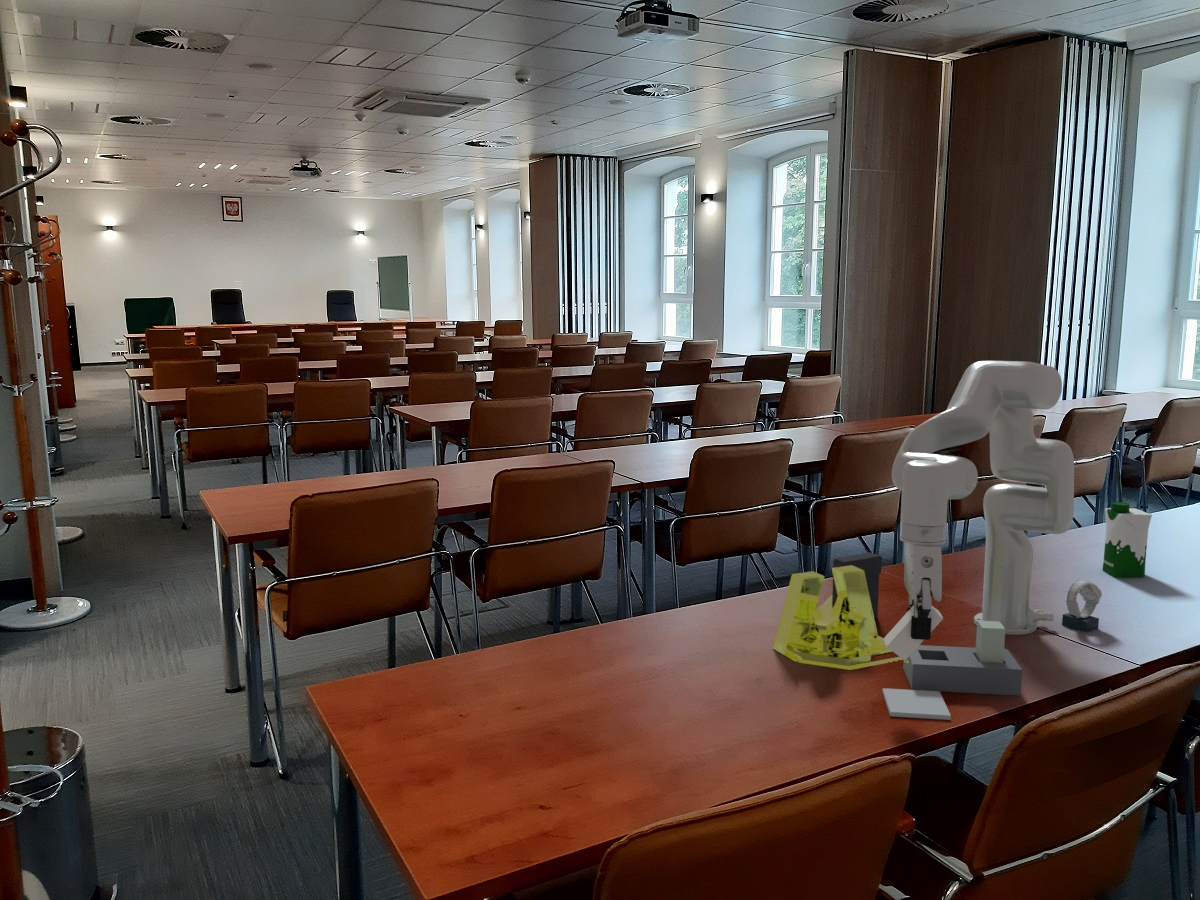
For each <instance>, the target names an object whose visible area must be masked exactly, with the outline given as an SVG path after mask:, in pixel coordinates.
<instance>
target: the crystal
mask: <svg viewBox="0 0 1200 900" xmlns="http://www.w3.org/2000/svg"><path fill="white" fill-rule="evenodd" d="M831 572H832V578H833V577H834V581H835V586H836V590H837V595H836V594H833V593H832V594H830V595H829V597H827V599H826V600H825V601H823V603H822V604H821V605H819V606H818V604H819V601H820V596H821V593H822V590H823V586H824V582H825V576H824V575H823V574H820V573H818V572H815V571H813V570H812V571H805V572H798V573H792V574H791V576H790V580H789V585H788V587H787V591H786V592H787V593H786V596H785V601H784V603H783V608H782V612H781V616H780V620H779V624H778V628H777V631H776V635H775V639H774V643H773V647H772V648H773V650H775V651H776V652H778V653H780V654H782V655H783V656H785V657H787V658H789V660H792V661H793V662H795V663H799V664H807V665H811V666H812V665H814V666H819V667H820V666H821V667H828V668H834V669H840V670H841V669H842V670H846V671H847V670H849V671H851V670H857V669H861V668H862V669H864V668H867V667H871V666H872V667H873V666H878V665H884V664H889V663H893V661H895V662H899V661H898V660H900V661H904V660H903V659H902V658H901V657H899V656H897V657H896V656H895V657H890V658H885V659H880V660H875V661H872V657H874V656H881V655H884V654H885V653H886V654H890V653H894V652H893V651H892V650H890V649H889V648H888V647H887V646H886V644H885V641H884V638H885V637H882V636H880V635H879V633H878V629H877V625H876V621H875V619H876V618H875V619H874V614H873V610H872V605H871V600H870V596H869V591H868V586H867V582H866V577H865V572H864V570H862V569H860V568H857V567H855V566H853V565H850V566H842V567H834V568H833V567H831ZM889 652H890V653H889ZM888 662H889V663H888Z"/></svg>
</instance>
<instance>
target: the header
mask: <svg viewBox="0 0 1200 900" xmlns="http://www.w3.org/2000/svg"><path fill="white" fill-rule="evenodd" d="M975 653H976V647H968V646H966V647H965V646H946V645H926V644H924V645H922V644H920V645H919V646H918V647H917V648H916V649H915V650H914V652H913V653H912V654H911V655H910V656H909V657H908V658H907V659H906V660H903V667H902V669H903V671H904V674H905V677H906V680H907V681H908V684H909V686H910V690H922V691H940V692H943V693H944V692H945V693H947V692H948V693H950V692H951V693H965V694H968V693H969V694H982V695H999V696H1001V695H1003V696H1016V697H1017V696H1019V697H1021V696H1022V682H1023V681H1022V679H1023V668H1022V667H1021V666H1020V664H1019V663H1018V662H1017V660H1016V658H1014V656H1013V654H1012V653H1011V652H1010V651H1009V649H1005V648H1004V660H1003V663H986V662H978V660H977V659H976V657H975Z"/></svg>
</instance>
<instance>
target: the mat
mask: <svg viewBox="0 0 1200 900" xmlns="http://www.w3.org/2000/svg"><path fill="white" fill-rule="evenodd" d="M882 696H883V698H884V701H885V704H886V708H887V710H888V714H889V716H890V717H894V718H895V717H897V718H914V719H928V720H929V719H931V720H944V721H945V720H946V721H947V720H948V721H951V720H952V715H951V713H950V711H949V709H948V707H947V704H946V702H945V700H944V697H943V696H942V693H941V691H926V690H912V689H903V688H902V689H901V688H900V689H899V688H882Z"/></svg>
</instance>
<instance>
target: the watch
mask: <svg viewBox="0 0 1200 900" xmlns="http://www.w3.org/2000/svg"><path fill="white" fill-rule="evenodd" d="M1078 595H1080V596H1081V597H1082V599H1083V602H1085V603H1084V605H1083V608H1082V609H1081V610H1080V608H1079V602H1077V598H1078ZM1102 597H1103V593H1102V590H1101V589H1100V587H1099V586H1098V585H1097V584H1095V583H1093V582H1092V581H1089V580H1081V579H1077V580H1076V581H1074V582H1073V583H1072V584H1071V585H1070V587H1069V589H1068V591H1067V594H1066V600H1065V603H1066V607H1067V610H1068V612H1067V613H1063V614H1062V619H1061V620H1062V621H1061V626H1064V627H1066V628H1067V627H1068V628H1071V629H1074V630H1077V631H1080V632H1083V633H1089V632H1092V631H1094V630H1095V631H1096V630H1098V629H1099V625H1100V624H1099V623H1100V622H1099V621H1100V618H1099V617H1095V616H1092V614H1093V613H1094V611H1095V609H1096V607H1097V605H1098V604H1099V603H1100V600H1101V598H1102Z"/></svg>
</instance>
